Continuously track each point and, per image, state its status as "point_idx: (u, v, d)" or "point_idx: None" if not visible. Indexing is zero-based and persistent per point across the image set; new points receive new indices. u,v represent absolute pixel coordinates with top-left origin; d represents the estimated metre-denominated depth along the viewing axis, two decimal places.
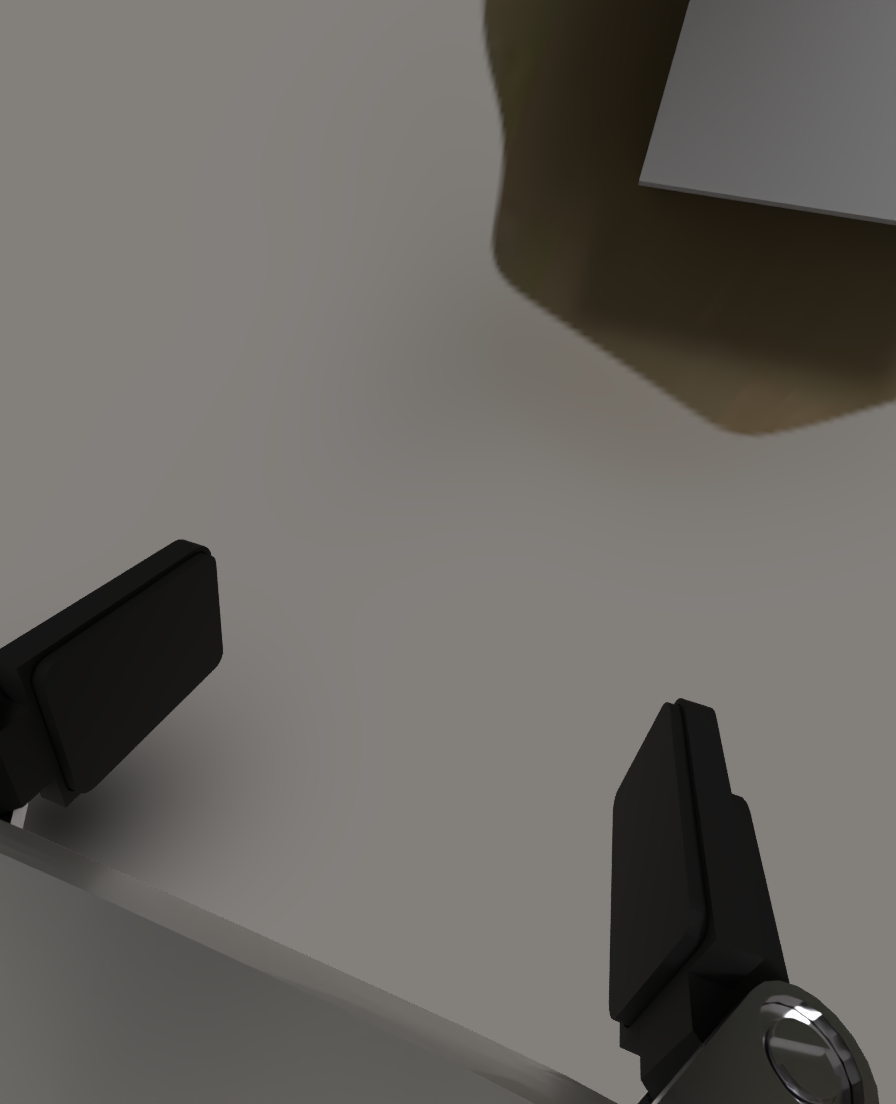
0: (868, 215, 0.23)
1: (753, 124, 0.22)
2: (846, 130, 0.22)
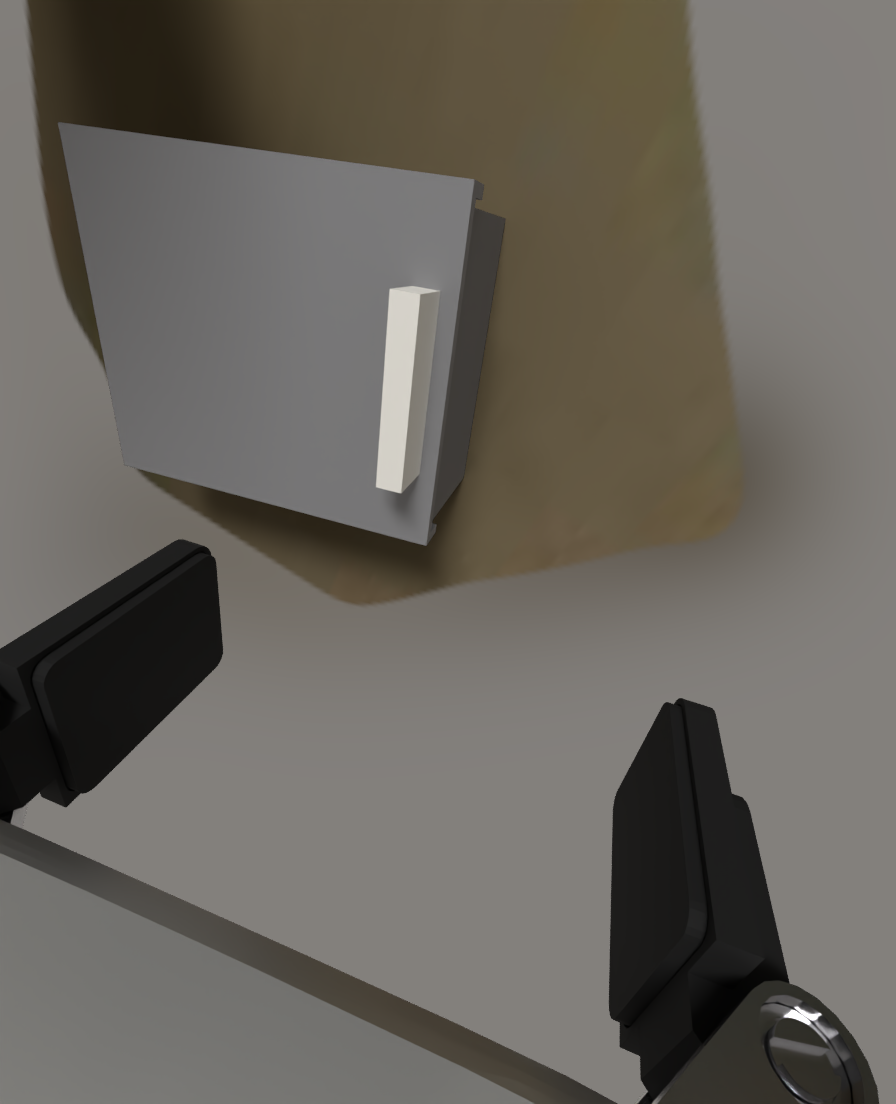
0: (275, 505, 0.29)
1: (178, 438, 0.28)
2: (236, 449, 0.28)
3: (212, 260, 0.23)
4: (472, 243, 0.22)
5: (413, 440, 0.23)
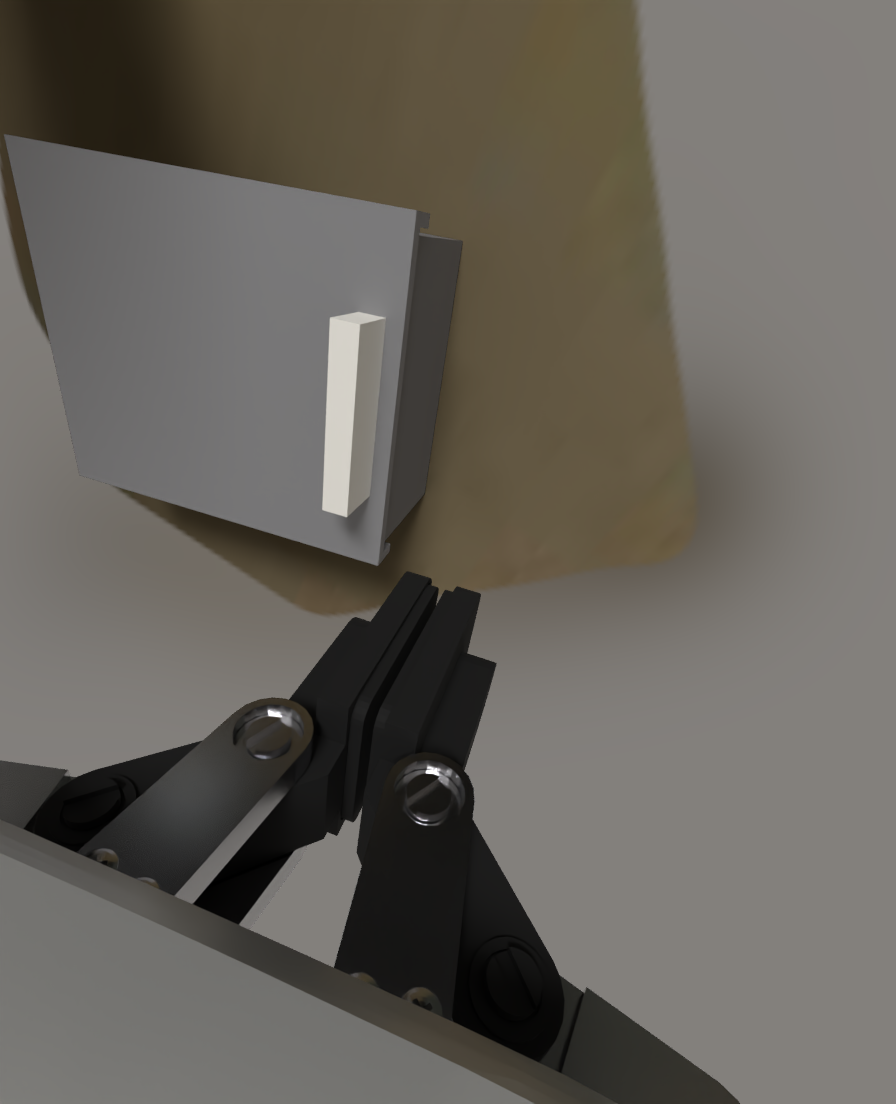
0: (229, 520, 0.29)
1: (132, 451, 0.28)
2: (189, 464, 0.28)
3: (161, 278, 0.23)
4: (420, 270, 0.22)
5: (359, 465, 0.23)
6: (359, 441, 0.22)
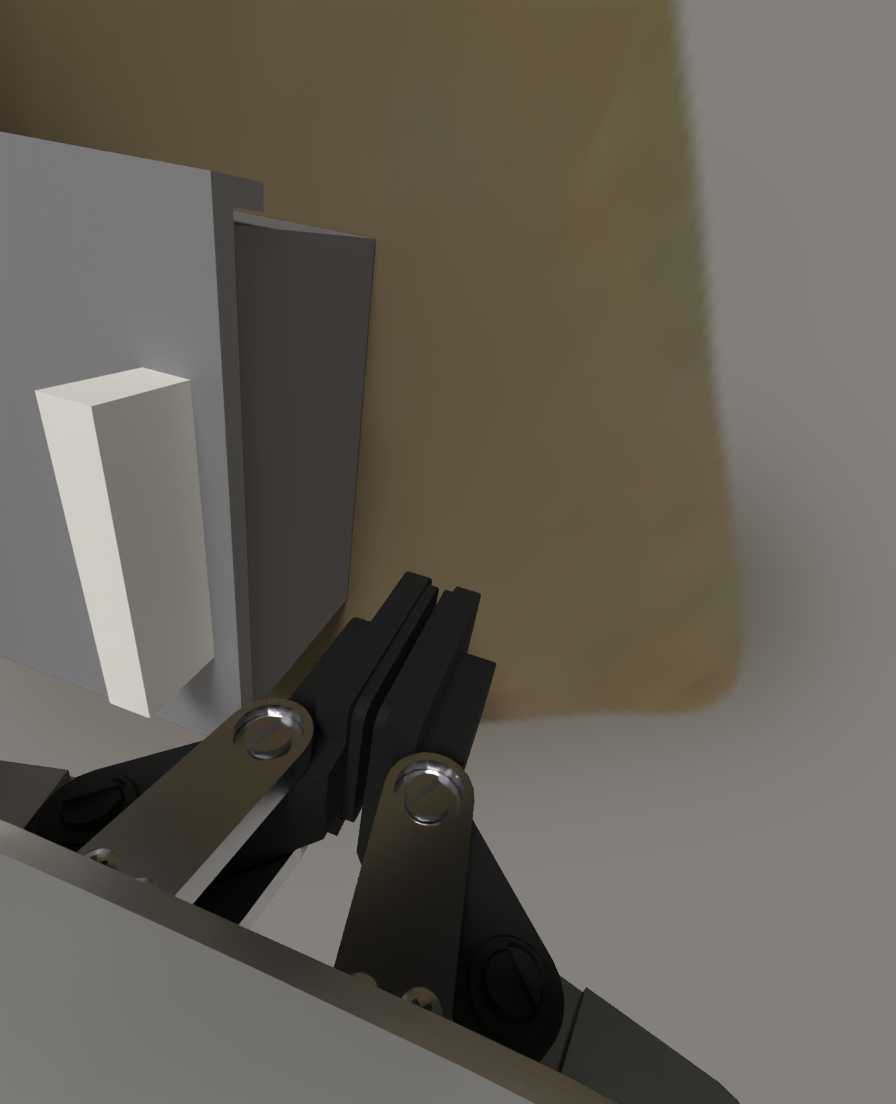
0: (27, 666, 0.19)
1: None
2: None
3: None
4: (262, 290, 0.12)
5: (168, 631, 0.13)
6: (156, 598, 0.12)
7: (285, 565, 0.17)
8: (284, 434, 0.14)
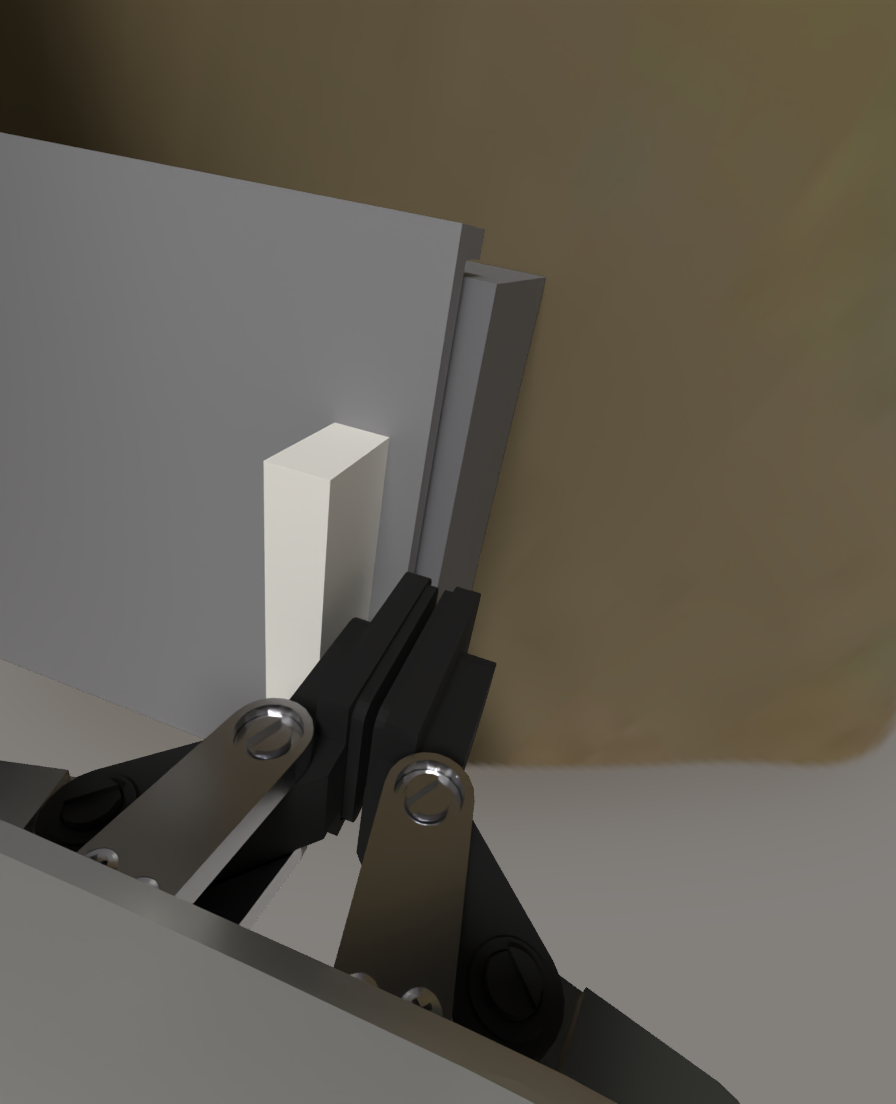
0: (134, 711, 0.18)
1: None
2: (64, 630, 0.17)
3: None
4: (493, 347, 0.11)
5: None
6: None
7: None
8: (470, 490, 0.14)
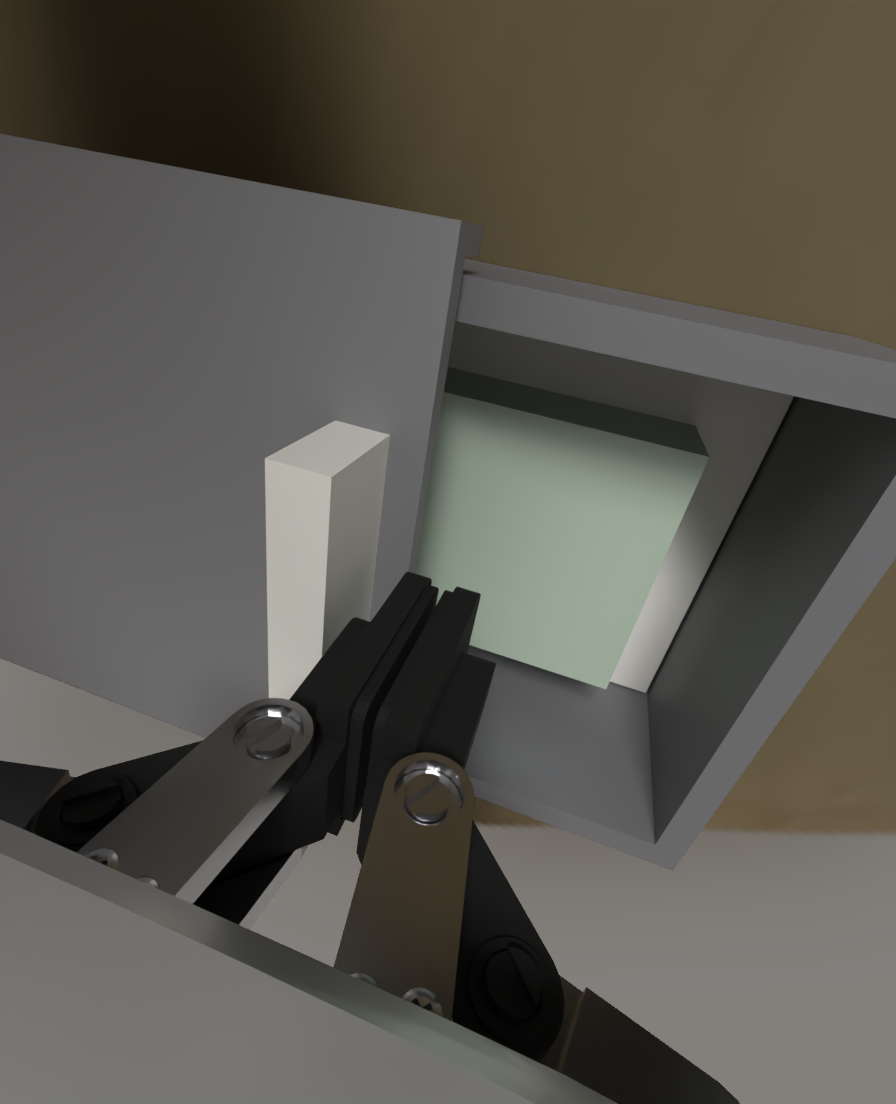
0: (137, 710, 0.18)
1: None
2: (67, 630, 0.17)
3: None
4: None
5: None
6: None
7: None
8: None
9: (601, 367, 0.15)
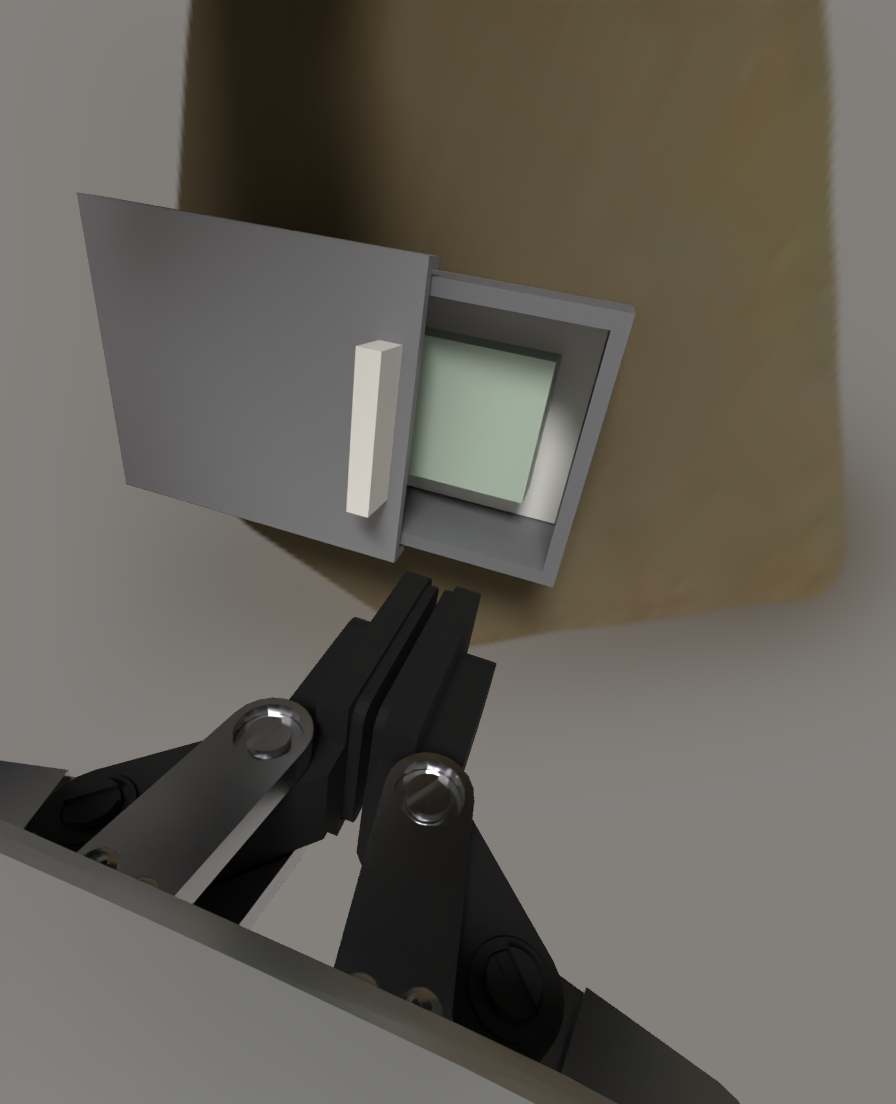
0: (261, 523, 0.32)
1: (175, 462, 0.32)
2: (226, 473, 0.31)
3: (207, 311, 0.27)
4: None
5: (379, 471, 0.26)
6: (379, 451, 0.26)
7: None
8: None
9: (512, 325, 0.30)
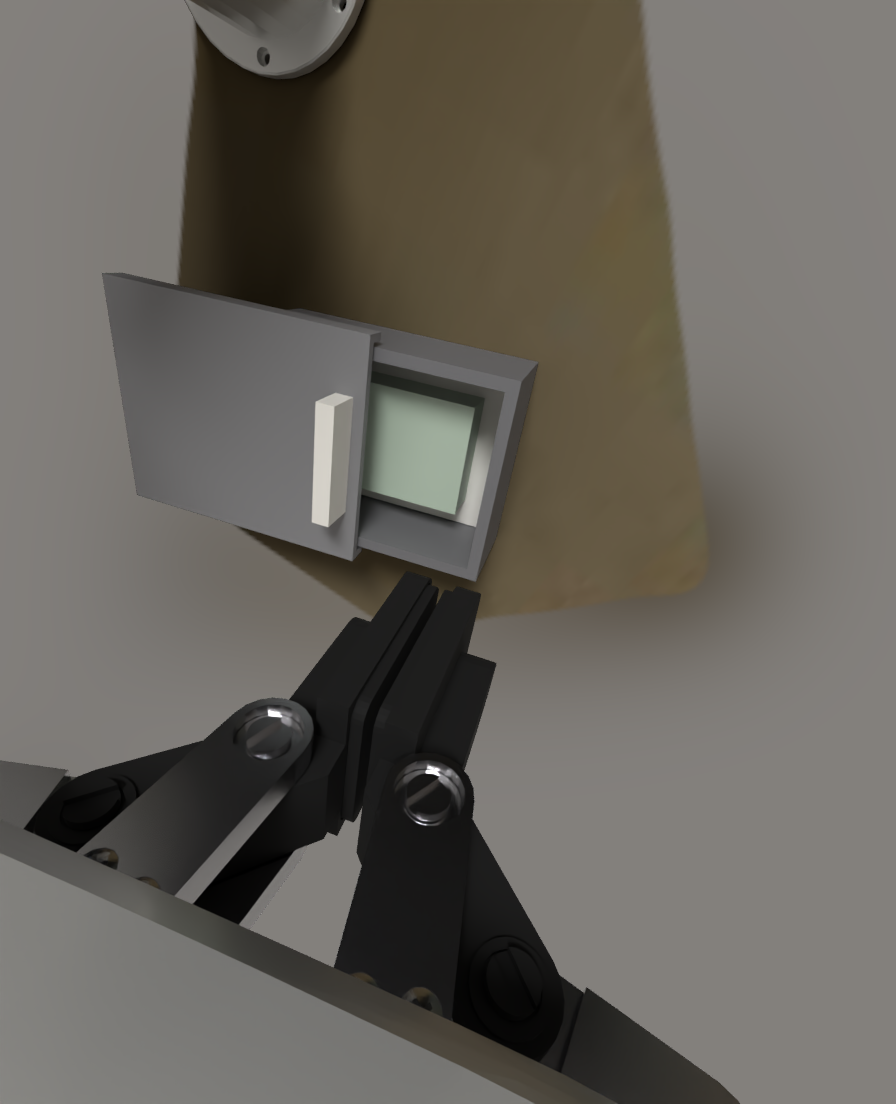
0: (247, 528, 0.40)
1: (177, 478, 0.39)
2: (219, 488, 0.39)
3: (204, 365, 0.34)
4: (519, 399, 0.31)
5: (336, 492, 0.34)
6: (336, 477, 0.33)
7: (495, 511, 0.36)
8: (508, 451, 0.34)
9: None
